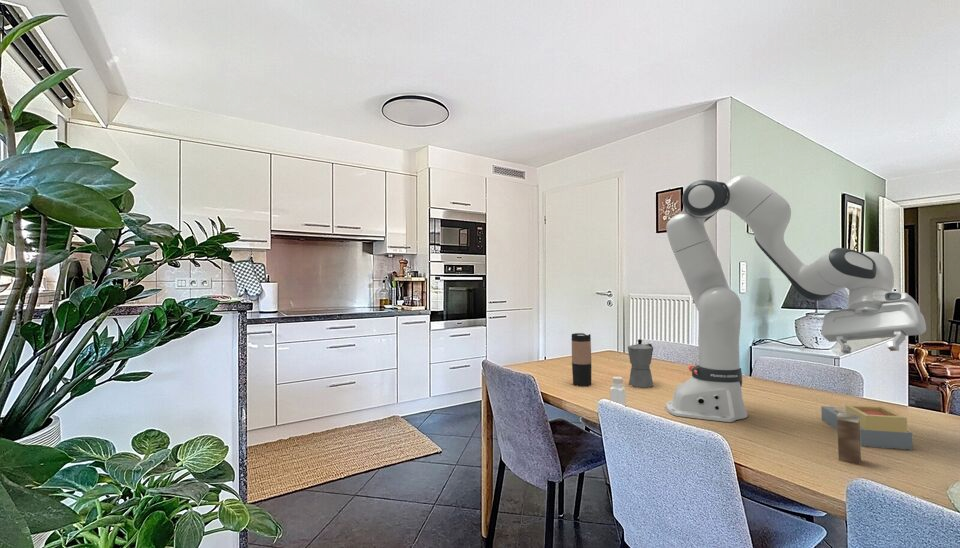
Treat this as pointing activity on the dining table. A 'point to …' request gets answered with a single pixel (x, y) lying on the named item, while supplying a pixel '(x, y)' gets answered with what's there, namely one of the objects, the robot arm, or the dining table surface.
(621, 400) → the salt shaker
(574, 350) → the travel mug
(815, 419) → the dining table surface
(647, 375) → the coffeepot
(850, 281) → the robot arm
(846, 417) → the brown rectangular block
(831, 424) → the grey and tan block
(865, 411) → the breaker button
